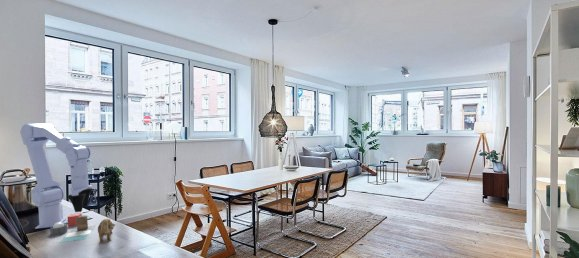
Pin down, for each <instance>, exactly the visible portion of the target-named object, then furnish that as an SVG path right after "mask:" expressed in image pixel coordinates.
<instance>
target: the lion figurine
mask: <svg viewBox="0 0 579 258" xmlns="http://www.w3.org/2000/svg"><path fill="white" fill-rule="evenodd" d="M115 226H116V224H114V223H113V221H111V219H110V218H104V219H103V220H101V222H100V223H99V225H98V227H97V233H98V238H99V242H98V243H99V245H101V244H104V237H105V236H106V241H107V242H111V241H112V239H111V235H112V234H113V230H114V228H115Z"/></svg>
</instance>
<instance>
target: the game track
mask: <svg viewBox="0 0 579 258" xmlns="http://www.w3.org/2000/svg"><path fill="white" fill-rule="evenodd" d="M95 227H96V225H91V226H90V225H89V226H88V229H86V230H82V231H78V230H77V227H74V228H72V229H71V230H70V231H69V232H68V233H67V234H66V235H65V236H64V237H63V238H62V239H61V241H60V242H59V243H66V242H74V241H80V240H81V241H82V240H86V239H87V237H88V236H89V235H90V234H91V232H92V231H93V230H94V228H95Z"/></svg>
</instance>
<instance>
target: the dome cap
mask: <svg viewBox="0 0 579 258" xmlns="http://www.w3.org/2000/svg"><path fill="white" fill-rule="evenodd" d="M64 224H65V223H64V222H58V223H56V224H54V226H53V228H60V227H63V226H64Z"/></svg>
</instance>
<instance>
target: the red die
mask: <svg viewBox="0 0 579 258" xmlns="http://www.w3.org/2000/svg"><path fill="white" fill-rule="evenodd" d="M82 214H83V213H82V212H76V213H71V214H69V215H68V216H67V227H74V226H77V217H79V216H83V215H82Z"/></svg>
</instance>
